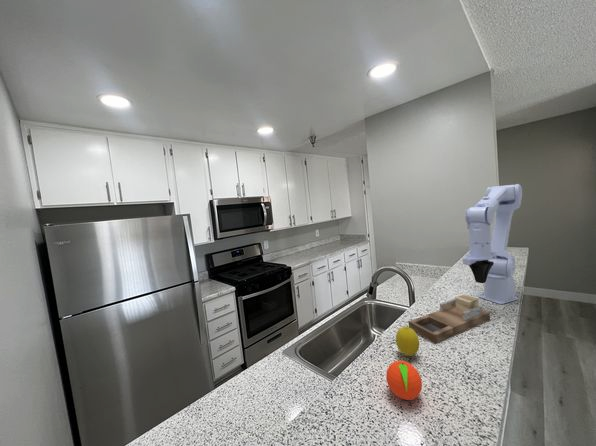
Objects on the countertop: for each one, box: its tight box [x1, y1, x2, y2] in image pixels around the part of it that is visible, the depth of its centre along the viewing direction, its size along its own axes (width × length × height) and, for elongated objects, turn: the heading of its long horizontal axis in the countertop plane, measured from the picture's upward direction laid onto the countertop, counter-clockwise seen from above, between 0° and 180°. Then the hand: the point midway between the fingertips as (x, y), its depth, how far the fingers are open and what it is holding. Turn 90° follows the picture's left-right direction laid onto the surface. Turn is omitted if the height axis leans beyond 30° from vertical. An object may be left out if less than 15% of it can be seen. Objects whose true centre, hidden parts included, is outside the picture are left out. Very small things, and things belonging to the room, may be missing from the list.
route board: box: [408, 307, 491, 345], centre depth 74 cm, size 25×9×2 cm, turn 112°
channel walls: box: [439, 298, 482, 321], centre depth 76 cm, size 8×8×2 cm
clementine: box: [385, 360, 423, 401], centre depth 49 cm, size 8×7×7 cm
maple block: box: [455, 294, 480, 312], centre depth 77 cm, size 4×4×4 cm
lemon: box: [395, 326, 420, 357], centre depth 62 cm, size 6×6×8 cm
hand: (480, 282), depth 79 cm, fingers closed
